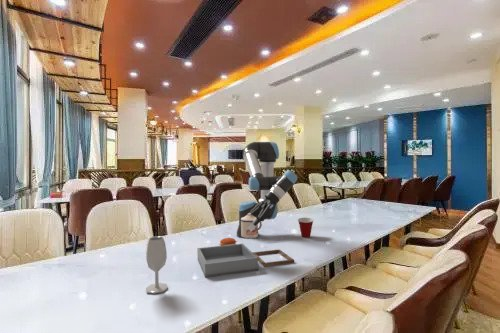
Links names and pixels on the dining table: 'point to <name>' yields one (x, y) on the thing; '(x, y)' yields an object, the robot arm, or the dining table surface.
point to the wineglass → (156, 262)
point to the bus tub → (226, 260)
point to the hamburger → (227, 241)
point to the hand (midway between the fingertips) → (246, 227)
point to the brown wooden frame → (289, 260)
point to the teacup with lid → (246, 222)
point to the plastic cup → (305, 226)
